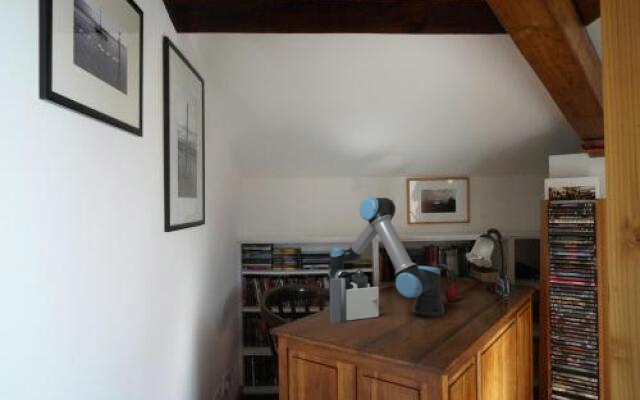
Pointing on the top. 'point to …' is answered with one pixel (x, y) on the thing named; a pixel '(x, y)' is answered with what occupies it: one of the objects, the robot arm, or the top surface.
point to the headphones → (451, 289)
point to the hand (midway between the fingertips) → (362, 287)
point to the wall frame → (337, 300)
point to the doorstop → (360, 279)
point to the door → (361, 303)
